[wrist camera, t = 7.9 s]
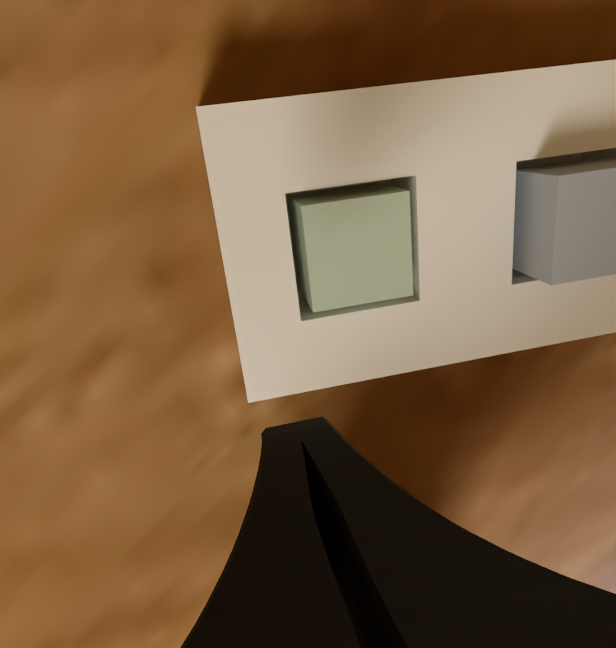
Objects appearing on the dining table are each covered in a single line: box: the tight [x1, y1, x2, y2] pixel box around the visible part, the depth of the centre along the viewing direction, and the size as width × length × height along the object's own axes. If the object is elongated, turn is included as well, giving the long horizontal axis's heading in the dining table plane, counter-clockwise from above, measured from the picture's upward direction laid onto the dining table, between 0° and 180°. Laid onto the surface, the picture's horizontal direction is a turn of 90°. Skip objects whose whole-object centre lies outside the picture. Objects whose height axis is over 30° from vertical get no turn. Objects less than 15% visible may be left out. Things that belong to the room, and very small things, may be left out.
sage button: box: [288, 183, 413, 313], centre depth 18 cm, size 4×4×3 cm
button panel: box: [196, 59, 616, 403], centre depth 20 cm, size 10×25×3 cm, turn 96°
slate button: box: [512, 157, 616, 285], centre depth 18 cm, size 4×4×3 cm
